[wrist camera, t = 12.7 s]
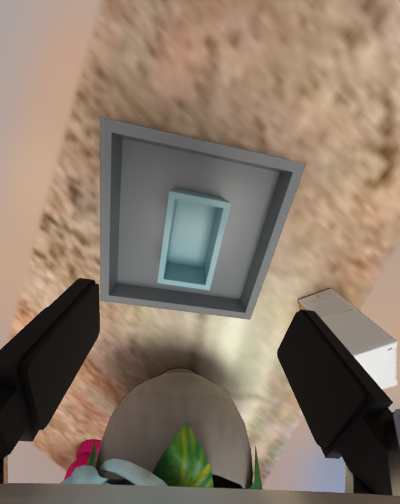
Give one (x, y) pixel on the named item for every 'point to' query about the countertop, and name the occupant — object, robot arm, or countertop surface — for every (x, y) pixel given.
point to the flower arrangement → (173, 438)
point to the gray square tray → (155, 208)
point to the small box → (357, 335)
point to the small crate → (192, 238)
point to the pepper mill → (83, 455)
